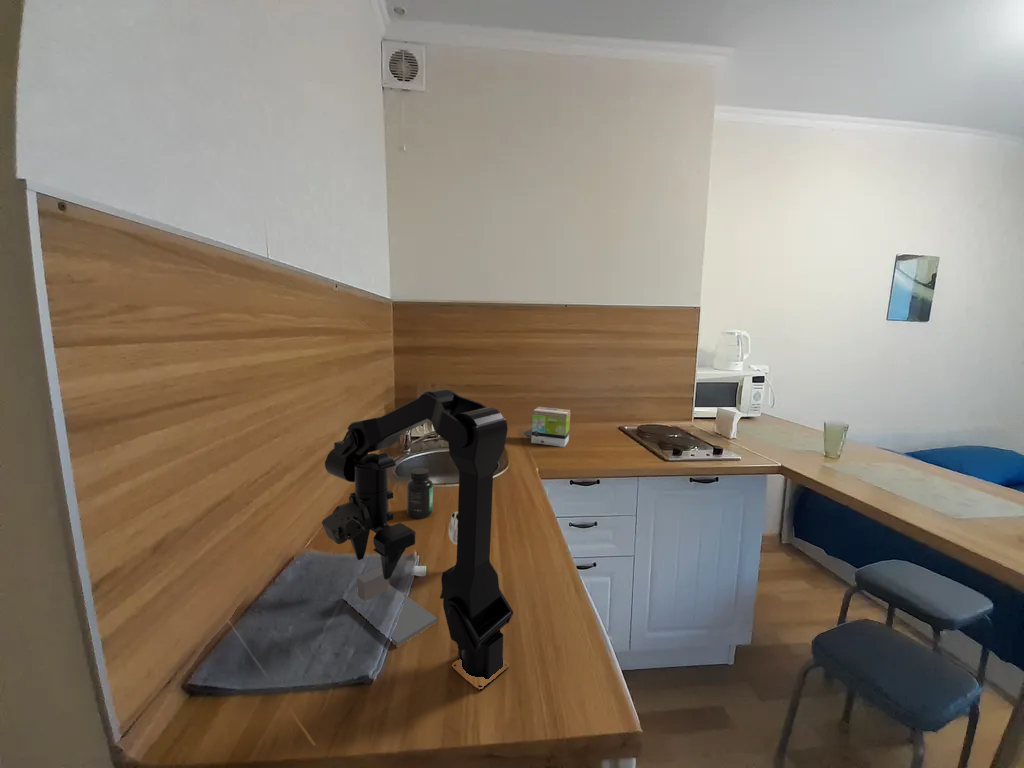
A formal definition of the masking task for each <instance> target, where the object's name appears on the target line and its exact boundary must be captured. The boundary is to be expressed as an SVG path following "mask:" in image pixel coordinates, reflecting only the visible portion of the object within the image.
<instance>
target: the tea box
mask: <svg viewBox="0 0 1024 768" xmlns="http://www.w3.org/2000/svg"><path fill="white" fill-rule="evenodd" d="M531 417H532V418H531V419H532V420H531V421H532V422H531V434H530V435H531V437H530V438H531V442H530V443H531V444H540V445H548V446H554V447H560V448H565V447H566V445H567V444H568V443H569V439H570V424H571V409H564V408H556V407H544V406H537V407H536V408H534V410H532V416H531Z"/></svg>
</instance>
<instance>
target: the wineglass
mask: <svg viewBox="0 0 1024 768" xmlns="http://www.w3.org/2000/svg"><path fill="white" fill-rule="evenodd" d="M449 519H450V520H449V524H448V537H449V540H450V542H452V543H453V545H456V546H457V530H458V510H457V511H454V512H453V513H452V514H451V516H450V518H449Z"/></svg>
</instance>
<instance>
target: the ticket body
mask: <svg viewBox="0 0 1024 768" xmlns="http://www.w3.org/2000/svg"><path fill="white" fill-rule="evenodd" d="M436 622H437V623H438V618H437V617H436V616H435V615H434V614H432V613H431V612H429V611H428V610H426V609H425V608H424V607H423V606H421V605H420V604H418V603H417V602H416V601H415V600H413V599H412V598H410V597H409V596H408V595H406V598H405V600H404V605H403V608H402V611H401V613H400V615H399V619H398V621H397V625H396V627H395V629H394V631H393V633H392V635H391V639H392V642H393V643H394V644H395V645H396V646H399V645H400V644H402V643H404V642H406V641H407V640H409V639H410V638H412V637H414V636H415V635H417V634H419V633H420V632H421V631H423V630H424V629H426V628H427V627H429V626H430V625H432V624H434V623H436Z"/></svg>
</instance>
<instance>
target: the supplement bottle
mask: <svg viewBox="0 0 1024 768" xmlns="http://www.w3.org/2000/svg"><path fill="white" fill-rule="evenodd" d="M409 476H410V477H409V478H410V480H408V482H407V484H406V512H407V513H406V514H407V516H408V517H409V518H412V519H415V520H417V519H418V520H420V519H426V518H428V517H430V516H432V514H433V511H434V502H433V501H434V484H433V481H432V480H431V479H430V470H429V469H427V468H423V467H420V468H419V467H418V468H413V469H412V470H411V471H410V475H409Z"/></svg>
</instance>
